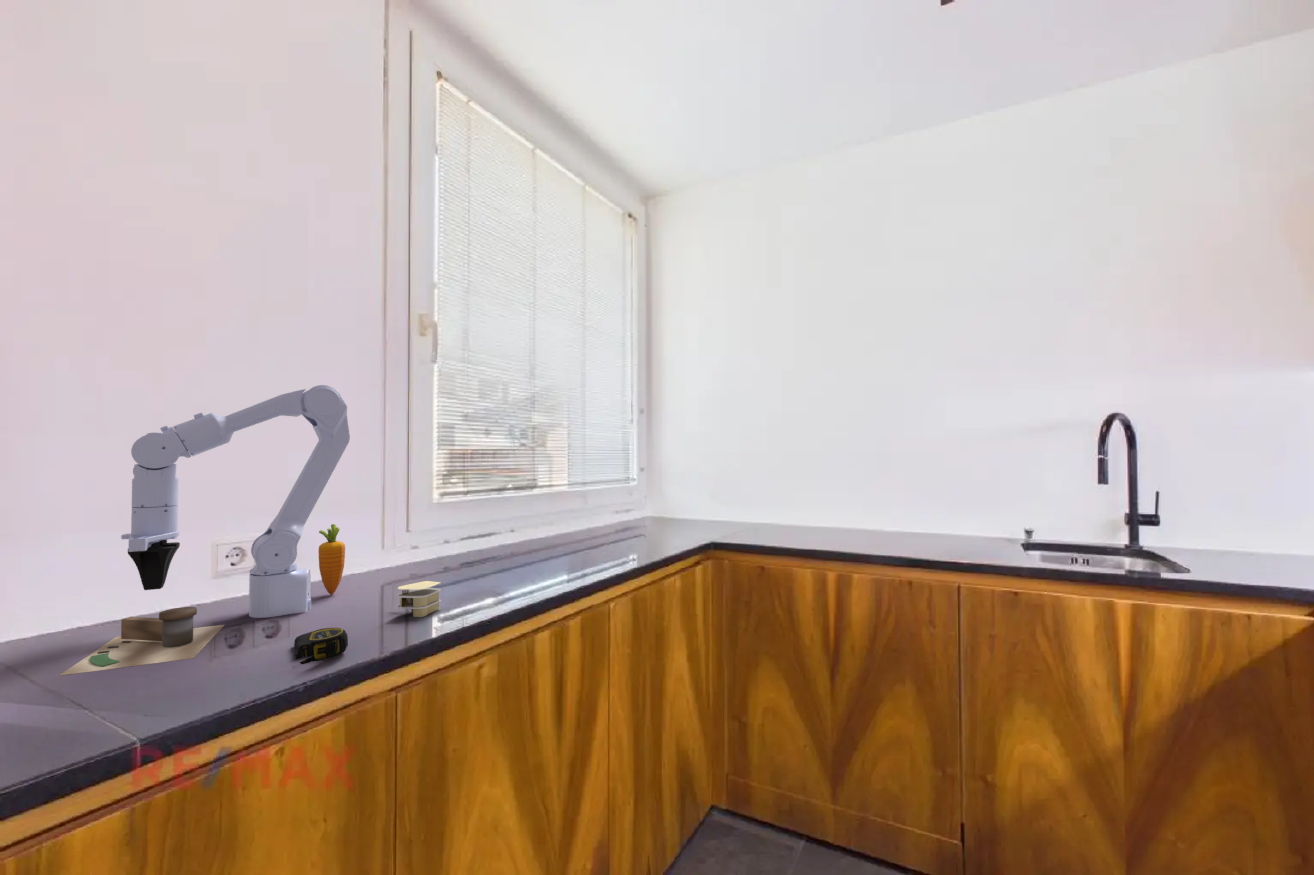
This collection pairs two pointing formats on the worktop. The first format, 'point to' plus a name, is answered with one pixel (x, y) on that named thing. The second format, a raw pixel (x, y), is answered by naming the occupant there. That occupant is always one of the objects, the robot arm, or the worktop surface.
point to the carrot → (331, 559)
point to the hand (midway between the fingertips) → (153, 588)
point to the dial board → (142, 652)
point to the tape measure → (321, 644)
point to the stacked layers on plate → (420, 598)
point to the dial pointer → (161, 627)
